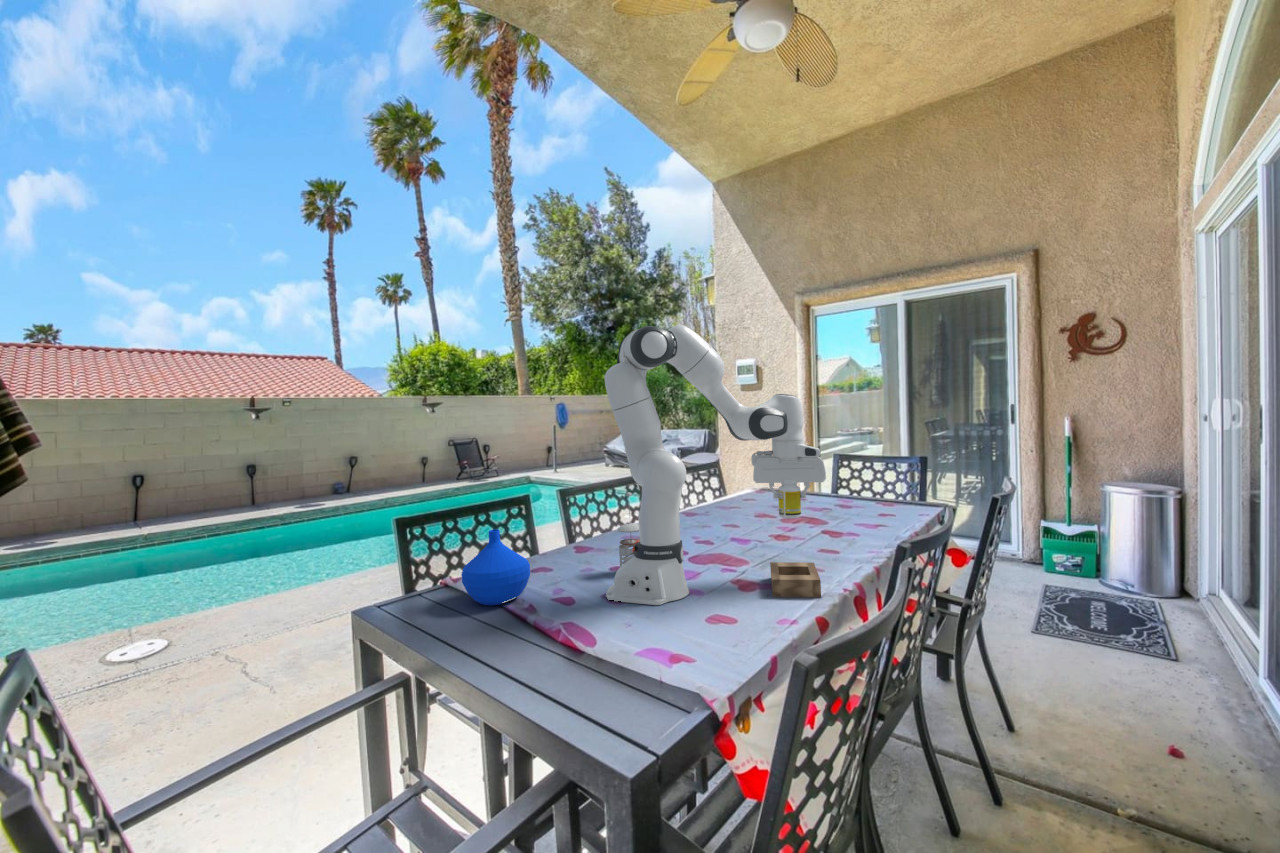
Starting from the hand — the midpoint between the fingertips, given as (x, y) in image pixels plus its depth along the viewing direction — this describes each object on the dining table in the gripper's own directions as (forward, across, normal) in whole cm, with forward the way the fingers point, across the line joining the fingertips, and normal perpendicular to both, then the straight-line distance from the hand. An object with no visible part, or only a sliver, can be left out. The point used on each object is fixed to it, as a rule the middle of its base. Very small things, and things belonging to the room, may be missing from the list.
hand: (789, 498), depth 158 cm
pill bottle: (+6, 0, 0) cm, 6 cm away
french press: (+23, -47, +3) cm, 53 cm away
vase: (+24, -80, -23) cm, 87 cm away
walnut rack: (+22, 0, -10) cm, 25 cm away
